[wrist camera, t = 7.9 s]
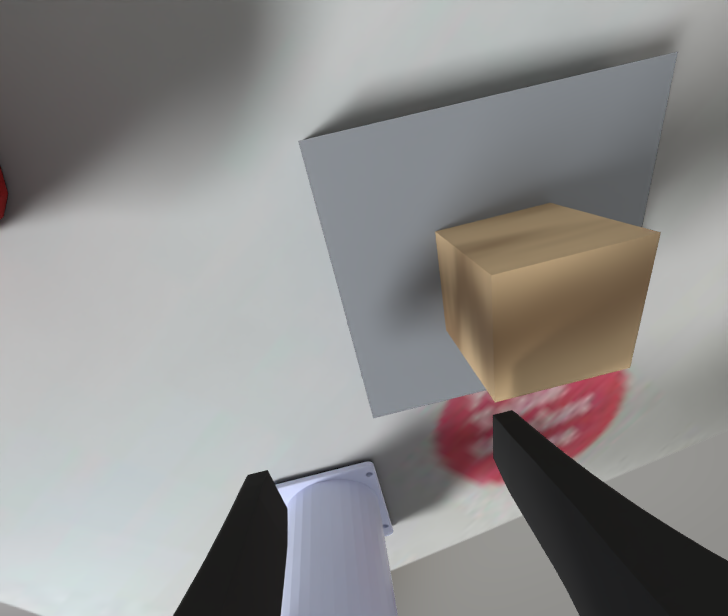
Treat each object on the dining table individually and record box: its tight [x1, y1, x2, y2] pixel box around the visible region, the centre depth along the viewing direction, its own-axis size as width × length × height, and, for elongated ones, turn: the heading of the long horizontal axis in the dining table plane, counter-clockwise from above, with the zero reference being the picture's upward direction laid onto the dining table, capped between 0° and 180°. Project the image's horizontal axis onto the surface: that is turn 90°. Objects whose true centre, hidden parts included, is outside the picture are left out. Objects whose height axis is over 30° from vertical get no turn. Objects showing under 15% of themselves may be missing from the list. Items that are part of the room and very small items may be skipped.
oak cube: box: [435, 203, 661, 402], centre depth 13 cm, size 5×5×5 cm
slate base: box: [299, 52, 678, 418], centre depth 16 cm, size 14×14×3 cm
